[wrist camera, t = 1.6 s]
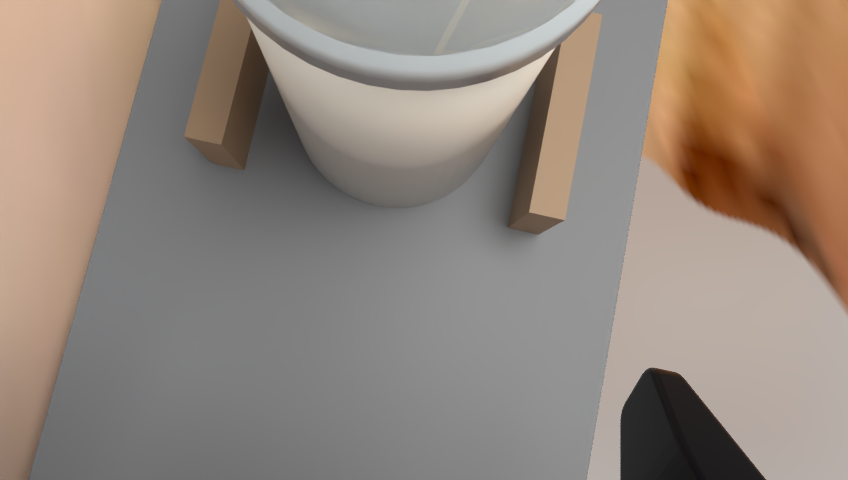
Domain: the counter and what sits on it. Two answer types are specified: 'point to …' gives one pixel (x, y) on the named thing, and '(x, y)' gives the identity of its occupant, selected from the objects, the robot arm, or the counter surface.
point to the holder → (349, 281)
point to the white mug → (405, 83)
